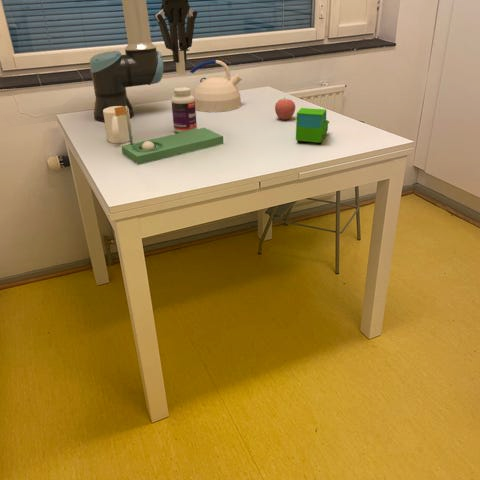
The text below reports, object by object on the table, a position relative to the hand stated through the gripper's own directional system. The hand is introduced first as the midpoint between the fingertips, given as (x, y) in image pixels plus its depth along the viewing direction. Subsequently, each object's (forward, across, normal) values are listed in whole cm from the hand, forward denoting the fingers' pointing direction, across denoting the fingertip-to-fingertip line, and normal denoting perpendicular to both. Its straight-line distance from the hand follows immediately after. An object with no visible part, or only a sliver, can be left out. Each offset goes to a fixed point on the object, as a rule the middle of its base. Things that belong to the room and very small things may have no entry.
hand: (181, 73), depth 143 cm
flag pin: (+20, -19, +5) cm, 28 cm away
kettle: (+23, +34, +36) cm, 54 cm away
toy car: (+23, +36, -20) cm, 47 cm away
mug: (+23, -16, +18) cm, 33 cm away
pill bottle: (+23, +7, +14) cm, 27 cm away
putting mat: (+22, -5, 0) cm, 23 cm away
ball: (+22, -12, 0) cm, 25 cm away
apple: (+23, +43, +3) cm, 49 cm away
